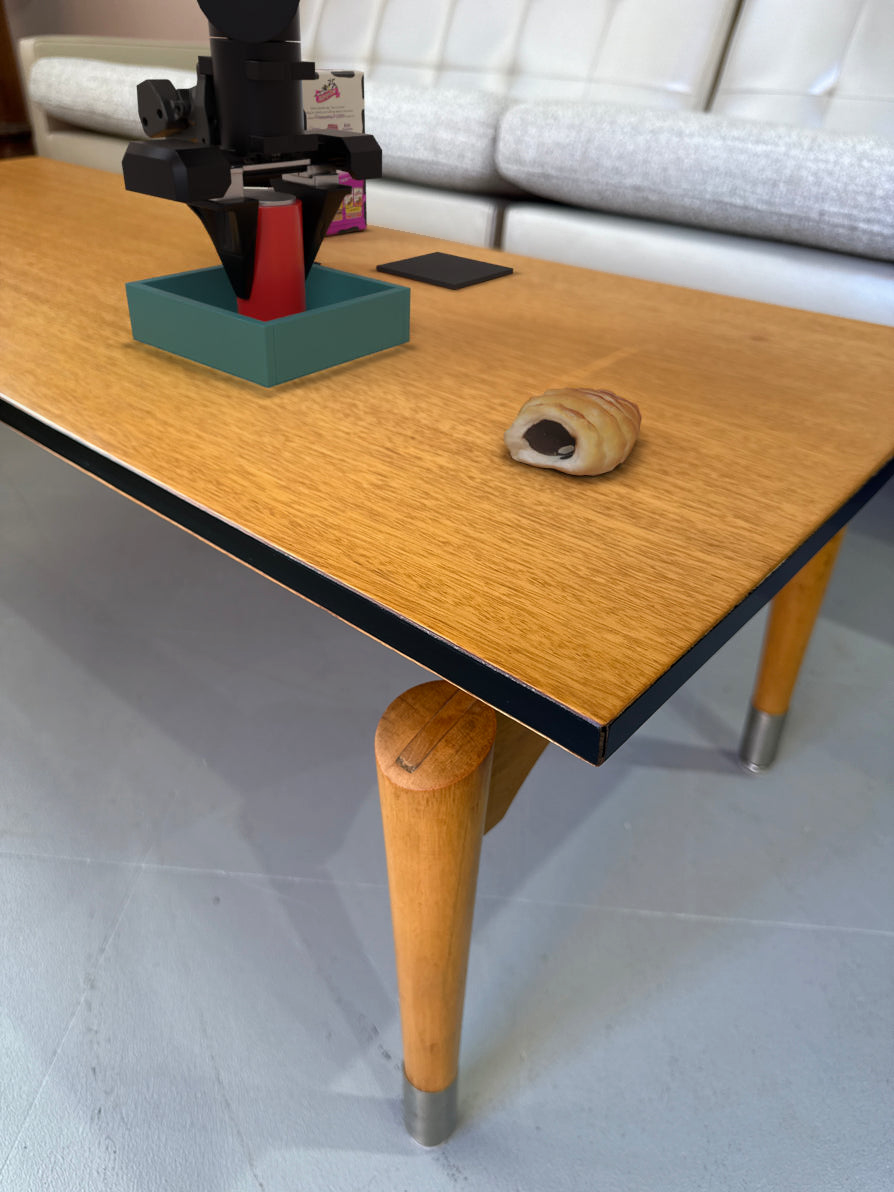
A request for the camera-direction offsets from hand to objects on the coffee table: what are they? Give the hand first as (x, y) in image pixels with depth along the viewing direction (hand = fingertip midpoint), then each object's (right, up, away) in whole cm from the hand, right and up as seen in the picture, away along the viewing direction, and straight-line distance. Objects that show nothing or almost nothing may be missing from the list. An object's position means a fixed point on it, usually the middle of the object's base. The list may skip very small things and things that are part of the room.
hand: (271, 291), depth 64 cm
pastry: (+20, -14, -12) cm, 27 cm away
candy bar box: (-2, +20, +38) cm, 43 cm away
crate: (0, -3, +2) cm, 4 cm away
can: (0, -3, +2) cm, 4 cm away
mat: (+13, +11, +25) cm, 30 cm away
